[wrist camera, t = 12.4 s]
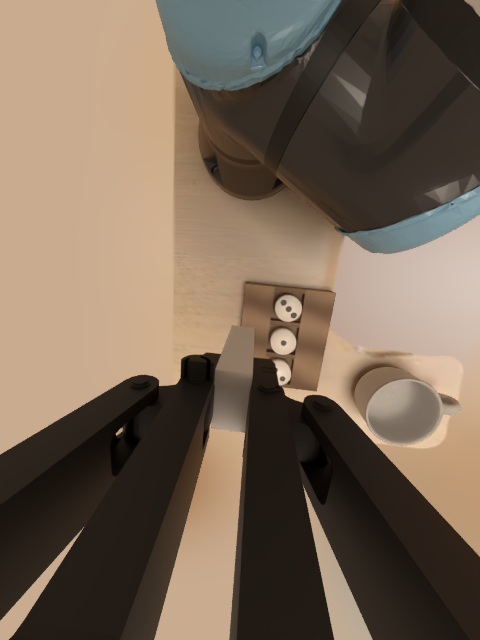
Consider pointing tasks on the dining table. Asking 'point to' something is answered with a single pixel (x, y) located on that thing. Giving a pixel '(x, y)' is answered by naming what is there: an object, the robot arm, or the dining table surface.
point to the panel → (305, 328)
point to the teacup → (401, 406)
